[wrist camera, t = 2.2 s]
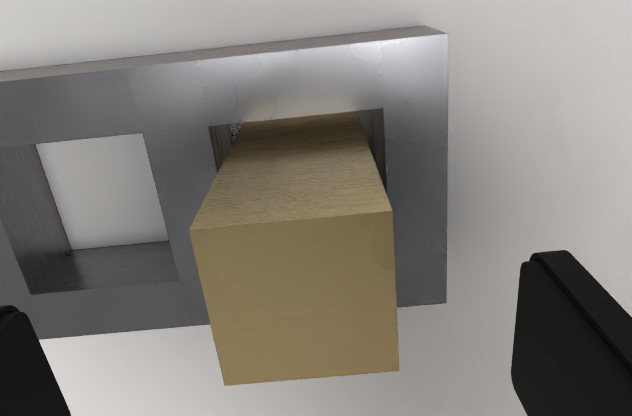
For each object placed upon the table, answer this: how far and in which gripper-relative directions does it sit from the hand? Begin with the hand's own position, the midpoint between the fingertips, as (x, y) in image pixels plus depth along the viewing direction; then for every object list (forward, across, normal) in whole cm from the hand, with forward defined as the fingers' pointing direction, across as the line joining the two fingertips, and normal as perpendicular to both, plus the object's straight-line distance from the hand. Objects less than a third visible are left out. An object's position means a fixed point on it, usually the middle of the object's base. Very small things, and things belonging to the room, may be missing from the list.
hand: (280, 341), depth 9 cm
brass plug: (+12, 0, +1) cm, 12 cm away
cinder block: (+12, +4, +1) cm, 12 cm away
